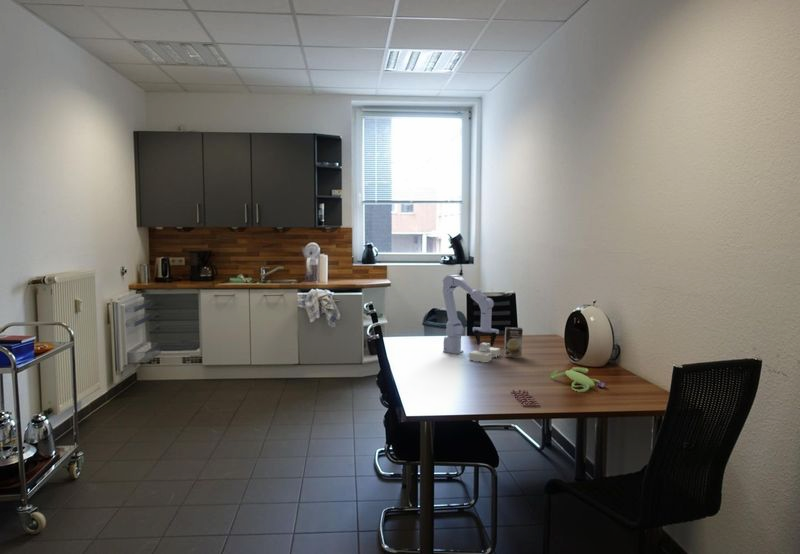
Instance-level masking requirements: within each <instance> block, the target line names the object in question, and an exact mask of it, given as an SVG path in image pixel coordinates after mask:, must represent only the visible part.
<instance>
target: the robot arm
mask: <svg viewBox="0 0 800 554" xmlns="http://www.w3.org/2000/svg"><path fill="white" fill-rule="evenodd" d="M442 283H443V286H442V295H443V299H444V304H445V310H446V311H445V312H446V315H447V319H448V320H447V322H446V323H445V327H446V328H445V333H446V335H445V336H444V337H443V350H442V352H443V353H448V354H449V353H450V354H460V353H463V352H464V350H463V349H462V335H463V334H464V332H465V331H464V330H465V328H464V325H462V321H461V320H459V318H458V312H457V307H456V303H455V302H456V301H455V297H454V293H453V292H454V291H455V290H456V288H458V287H460V288H462V289H463V290H464V291H465V292H466V293H468V294H469V295H470V298H471V299H472V300H473V301H474V302H475V303H476V304H478V307H479V309H480V327H479V326H473V327H472V332H473V335H474V337H475V340H476V344H477V345H478V346H480V344H481V336H482V335H481V333H488V334H489V333H490V347H494V344H495V340H496V338H497V337H498V335H499V334H500V330H499V329H497V328H492V314H493V313H492V311H493V310H492V309H493V308H494V305H495V301H494V300H493V298H491V297H488V296H487V295H485V294H484V293H482V291H481V290H480V289H474V288H473V287H472V286H471V285H470V284H469V283H468V282H467V281H466V280H465V279H464V277H463V276H462V275H460V274H450V275H449V274H448V275H445V277H444V278H443V279H442Z"/></svg>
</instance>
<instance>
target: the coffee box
mask: <svg viewBox="0 0 800 554" xmlns="http://www.w3.org/2000/svg"><path fill="white" fill-rule="evenodd" d="M504 328H505V329H504V343H503V344H504V346H503V348H504V349H503V356H504V358H506V357H514V358H513V359H522V353H523V352H522V351H523V332H524V330H523V329H524V328H522V327H514V326H512V327H511V326H505V327H504Z"/></svg>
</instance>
